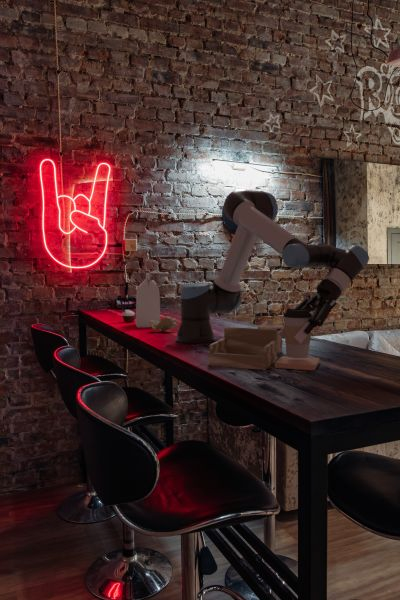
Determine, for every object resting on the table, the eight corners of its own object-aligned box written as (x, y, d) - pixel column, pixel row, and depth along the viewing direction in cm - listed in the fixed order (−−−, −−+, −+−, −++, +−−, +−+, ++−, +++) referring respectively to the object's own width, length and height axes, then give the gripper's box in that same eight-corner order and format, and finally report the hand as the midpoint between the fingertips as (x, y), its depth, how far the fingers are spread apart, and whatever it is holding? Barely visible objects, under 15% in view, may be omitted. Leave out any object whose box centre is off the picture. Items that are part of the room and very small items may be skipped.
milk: (135, 324, 272) (135, 273, 270) (158, 323, 274) (157, 273, 272) (137, 327, 260) (136, 273, 259) (160, 326, 263) (160, 273, 261)
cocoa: (136, 322, 286) (136, 299, 286) (137, 322, 280) (137, 300, 279) (118, 321, 284) (118, 299, 283) (118, 322, 278) (119, 299, 277)
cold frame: (224, 355, 184) (225, 327, 183) (276, 359, 178) (277, 329, 177) (208, 365, 167) (208, 334, 166) (265, 369, 161) (265, 336, 160)
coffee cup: (313, 354, 171) (313, 307, 170) (311, 359, 162) (311, 310, 161) (284, 352, 173) (285, 306, 172) (281, 358, 165) (281, 309, 163)
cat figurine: (149, 318, 247) (174, 310, 247) (153, 331, 250) (178, 324, 250) (149, 325, 239) (175, 317, 239) (154, 338, 242) (179, 331, 242)
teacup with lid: (287, 353, 190) (287, 320, 189) (263, 354, 187) (263, 321, 186) (273, 347, 201) (273, 316, 200) (250, 348, 199) (250, 317, 198)
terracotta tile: (281, 360, 175) (281, 356, 175) (319, 362, 172) (319, 358, 171) (274, 367, 164) (274, 362, 164) (314, 370, 160) (314, 365, 160)
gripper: (361, 296, 162) (315, 351, 157) (319, 292, 182) (278, 341, 177) (347, 279, 159) (300, 335, 155) (306, 276, 180) (264, 326, 175)
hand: (288, 338), depth 166 cm, fingers closed on coffee cup, 9 cm apart
